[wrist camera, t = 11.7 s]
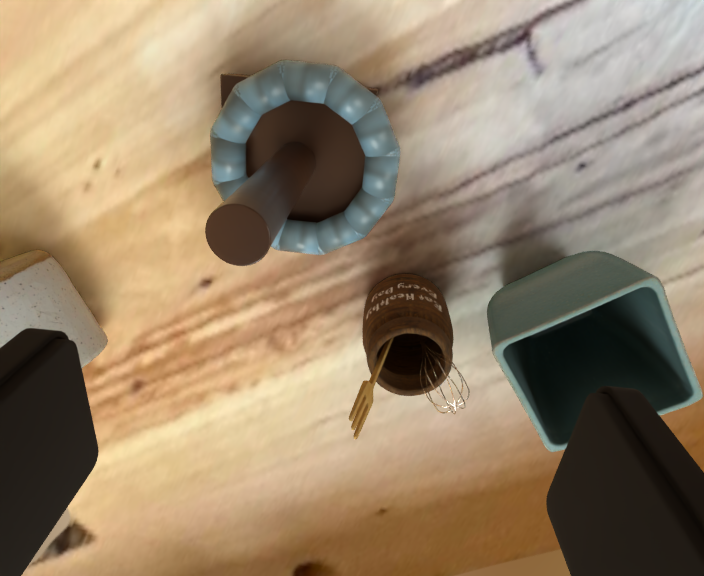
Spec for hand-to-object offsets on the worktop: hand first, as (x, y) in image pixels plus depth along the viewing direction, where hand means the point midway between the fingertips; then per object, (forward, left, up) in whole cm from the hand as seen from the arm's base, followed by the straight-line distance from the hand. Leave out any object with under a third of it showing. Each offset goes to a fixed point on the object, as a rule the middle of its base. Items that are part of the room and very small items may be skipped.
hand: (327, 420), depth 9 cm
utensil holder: (+4, -10, -24) cm, 26 cm away
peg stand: (-4, 0, -24) cm, 24 cm away
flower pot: (+14, -8, -24) cm, 29 cm away
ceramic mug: (-23, -13, -24) cm, 36 cm away
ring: (-4, 0, -21) cm, 21 cm away
